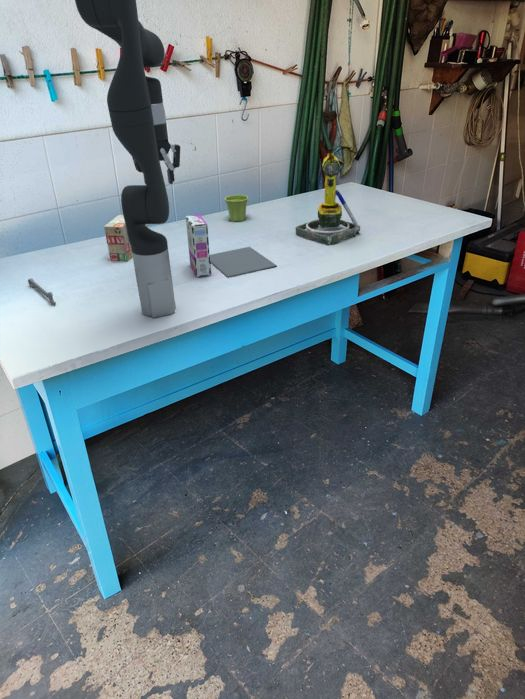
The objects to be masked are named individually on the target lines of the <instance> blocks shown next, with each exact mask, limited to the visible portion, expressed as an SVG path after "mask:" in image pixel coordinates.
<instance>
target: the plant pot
mask: <svg viewBox="0 0 525 699" xmlns="http://www.w3.org/2000/svg"><path fill="white" fill-rule="evenodd" d="M248 199H249V196H248V195H244V194H233V195H227V196H226V197H224V201H225V203H226V206H227V211H228V215H229V219H230V221H231V222H243V221H245V220H246V215H247V213H246V212H247V204H248Z"/></svg>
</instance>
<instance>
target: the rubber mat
mask: <svg viewBox="0 0 525 699" xmlns="http://www.w3.org/2000/svg"><path fill="white" fill-rule="evenodd" d="M211 263H212V264H213V265H212V264H211ZM210 264H211V265H212V266H213V267H215V268H216V269H217V270H218V269H219V270H220V271H221V272H220V271H219V270H218V271H219V272H220V273H221V274H223V275H224V276H225V277H226V278H227V277H228V279H229V277H230V278H233V277H238V275H239V276H241V275H247V273H248V274H251V273H256V272H260V271H264V270H269V269H274V268H278V266H277V264H275V263H274V262H272V261H271V260H269V259H268V258H267V257H265V256H264V255H263V254H261V253H259V252H258V251H257V250H255V249H254V248H252V247H251V246H246V247H241V248H235V249H232V250H231V249H230V250H227V251H222V252H216V253H211V254H210Z"/></svg>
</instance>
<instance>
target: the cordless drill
mask: <svg viewBox="0 0 525 699" xmlns="http://www.w3.org/2000/svg"><path fill="white" fill-rule="evenodd" d="M321 166H322V171H323V174H324V175H325V181H324V202H322V203H320V204H319V205H318V207H317V218H318V219H314V220H310V221H308V222H304V223H303V224H300V225H297V226H296V227H295V235H297V236H298V237H300V238H302V237H303V238H302V239H305V240H314V241H316V242H317V243H320V244H321V245H326V246H329V244H330V245H331V246H332V245H335V244H339V243H340V242H341V241H343V240H344V239H351V238H353V237H354V238H355V237H356V235H357V234H360V231H361V225H359V224H358V222H357V219H356V217H355V216H354V214H353V212H352V211H351V210H350V207H349V206H348V204H347V202H346V200H345V198H344V197H343V195H342V194H341V192H340V191H339V190H338V189H337V187H336V186H337V181H336V180H337V178H336V177H337V176H338V175H339V172H340V170H341V165H340V160H339V159H338V158H337V157H336V156H335V154H334V153H327V156H325V157H324V158H323V160H322V165H321ZM336 196H337V197H338V200H339V202H340V203H341V205H340V204H339V203H338V202H336ZM342 206H343V208H344V210H345V211H346V213H347V215H348V216H349V218H350V220H351V221H352V222H349V221H345V220H342V216H343V212H342V211H343V208H342ZM340 225H341V226H343V227H344V228H342V229H337V230H319V229H315V228H318V227H320V228H322V229H323V228H327V229H328V228H329V229H330V228H333V229H334V228H335V229H336V228H339V227H340ZM312 228H313V229H312Z"/></svg>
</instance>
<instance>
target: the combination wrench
mask: <svg viewBox="0 0 525 699" xmlns="http://www.w3.org/2000/svg"><path fill="white" fill-rule="evenodd" d="M27 284H28V286H29V287H31V288H35V289H36V290H38V292H40V294H42V295H43V296H45V297H46V298H48V300H49V302H50V304H51V305H53V306H55V305H56V304H57V302H56V301H55V300H54V298H53V296H54V294H53V292H52V291H48V292H47V290H46V289H44V288H43V287H42V286H40V285H39V283H37V282H36V281H35V280H34V279H33V278H32V277H31V278H28V280H27Z"/></svg>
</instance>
